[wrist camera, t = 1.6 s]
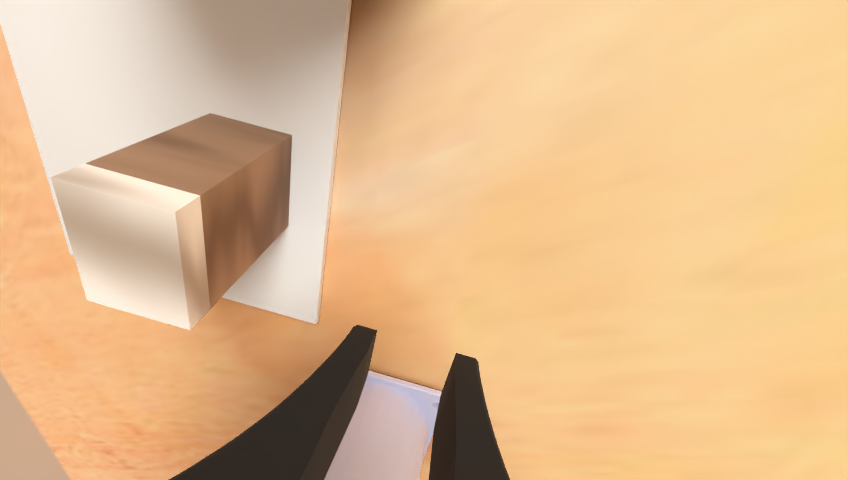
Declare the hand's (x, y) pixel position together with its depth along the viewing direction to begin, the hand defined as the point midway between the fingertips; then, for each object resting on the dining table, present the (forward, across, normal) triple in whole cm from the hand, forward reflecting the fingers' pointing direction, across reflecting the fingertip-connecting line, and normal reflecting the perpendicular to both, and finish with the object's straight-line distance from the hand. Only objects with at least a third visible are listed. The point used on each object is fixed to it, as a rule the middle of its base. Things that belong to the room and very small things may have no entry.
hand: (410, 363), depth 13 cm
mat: (+9, +14, 0) cm, 17 cm away
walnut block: (+9, +10, 0) cm, 13 cm away
